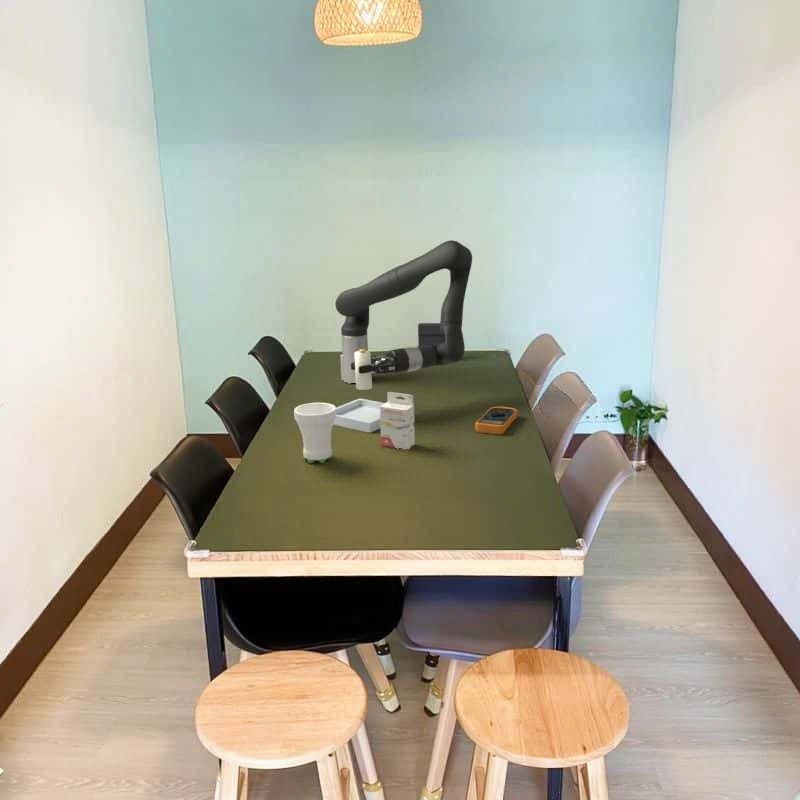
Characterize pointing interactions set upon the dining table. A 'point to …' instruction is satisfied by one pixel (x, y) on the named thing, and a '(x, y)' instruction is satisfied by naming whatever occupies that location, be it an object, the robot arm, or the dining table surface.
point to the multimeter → (496, 420)
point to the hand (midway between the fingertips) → (355, 368)
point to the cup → (316, 429)
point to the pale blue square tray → (359, 415)
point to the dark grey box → (430, 334)
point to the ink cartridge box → (397, 421)
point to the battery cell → (363, 379)
